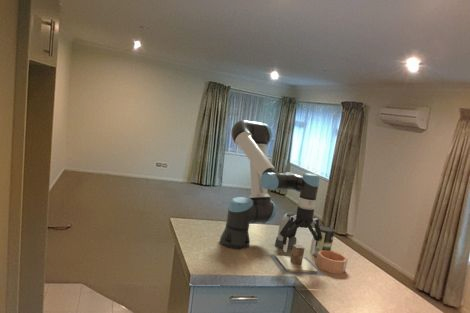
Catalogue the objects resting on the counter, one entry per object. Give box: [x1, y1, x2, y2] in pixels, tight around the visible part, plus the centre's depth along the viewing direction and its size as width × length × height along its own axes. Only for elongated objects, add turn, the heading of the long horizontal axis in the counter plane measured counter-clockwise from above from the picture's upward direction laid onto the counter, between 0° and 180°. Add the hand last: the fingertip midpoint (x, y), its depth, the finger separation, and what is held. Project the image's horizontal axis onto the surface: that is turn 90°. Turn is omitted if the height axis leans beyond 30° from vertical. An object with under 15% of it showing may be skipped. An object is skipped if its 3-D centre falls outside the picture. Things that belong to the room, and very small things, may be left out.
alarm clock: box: [274, 211, 298, 251], centre depth 197 cm, size 16×10×18 cm, turn 152°
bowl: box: [315, 250, 348, 274], centre depth 176 cm, size 13×13×6 cm
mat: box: [268, 254, 326, 277], centre depth 172 cm, size 20×20×1 cm
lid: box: [275, 244, 318, 273], centre depth 172 cm, size 15×15×9 cm
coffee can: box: [312, 224, 336, 257], centre depth 193 cm, size 10×10×14 cm
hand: (298, 252), depth 171 cm, fingers open, 13 cm apart
